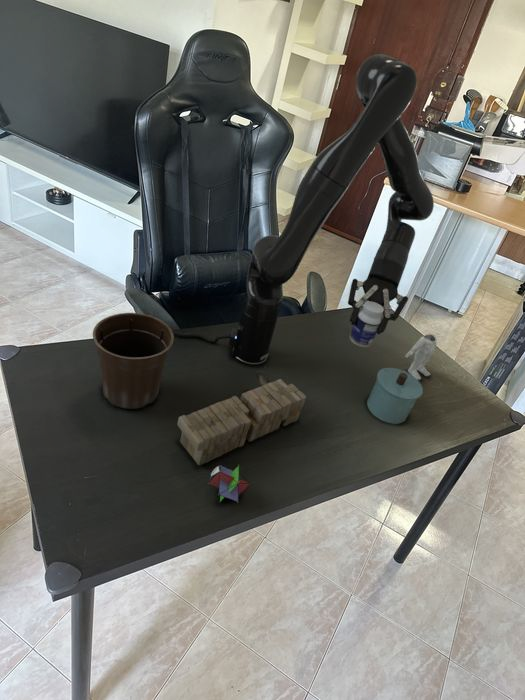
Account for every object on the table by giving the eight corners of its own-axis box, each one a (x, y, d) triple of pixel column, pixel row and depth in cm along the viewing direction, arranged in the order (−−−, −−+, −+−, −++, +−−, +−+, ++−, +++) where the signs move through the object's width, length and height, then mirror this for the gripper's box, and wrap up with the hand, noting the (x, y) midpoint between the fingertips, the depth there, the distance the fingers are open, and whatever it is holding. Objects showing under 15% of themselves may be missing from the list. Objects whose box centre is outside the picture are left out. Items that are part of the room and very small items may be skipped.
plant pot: (89, 416, 101) (89, 356, 92) (94, 367, 114) (95, 309, 105) (167, 417, 106) (175, 360, 97) (164, 369, 118) (171, 314, 109)
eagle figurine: (287, 390, 120) (255, 372, 120) (293, 383, 113) (259, 365, 114) (273, 417, 117) (241, 399, 118) (278, 411, 111) (244, 392, 111)
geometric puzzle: (255, 476, 95) (237, 451, 91) (255, 505, 90) (236, 480, 86) (223, 486, 97) (203, 462, 93) (221, 516, 92) (200, 491, 87)
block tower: (276, 402, 118) (172, 442, 100) (285, 376, 114) (177, 413, 96) (297, 424, 114) (192, 469, 96) (307, 397, 109) (199, 440, 91)
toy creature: (411, 384, 136) (428, 350, 129) (395, 371, 139) (411, 337, 133) (436, 374, 143) (454, 341, 136) (420, 361, 146) (437, 329, 139)
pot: (368, 420, 120) (384, 385, 113) (362, 390, 129) (377, 356, 122) (412, 429, 120) (431, 395, 114) (404, 398, 130) (421, 365, 123)
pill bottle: (346, 332, 120) (359, 298, 114) (368, 335, 121) (382, 301, 115) (351, 346, 115) (365, 311, 109) (374, 349, 116) (389, 314, 110)
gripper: (362, 248, 114) (338, 314, 111) (422, 268, 112) (398, 335, 109) (358, 260, 121) (335, 322, 118) (414, 279, 119) (392, 342, 116)
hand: (365, 328), depth 114 cm, fingers closed on pill bottle, 5 cm apart
